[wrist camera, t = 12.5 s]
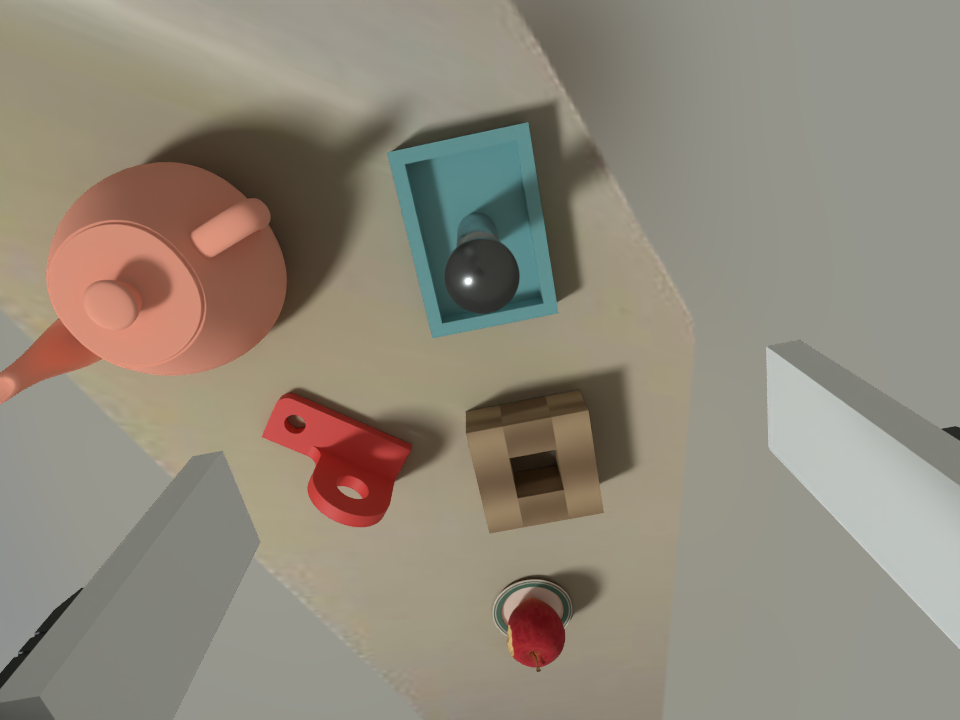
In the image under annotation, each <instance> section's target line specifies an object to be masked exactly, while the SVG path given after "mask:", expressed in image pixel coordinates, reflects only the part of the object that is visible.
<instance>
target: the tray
mask: <svg viewBox="0 0 960 720" xmlns="http://www.w3.org/2000/svg"><path fill="white" fill-rule="evenodd" d="M387 154H388V158H389V162H390V166H391V170H392V174H393V178H394V182H395V186H396V190H397V195H398V199H399V203H400V207H401V211H402V215H403V219H404V223H405V227H406V231H407V236H408V240H409V244H410V248H411V252H412V256H413V260H414V264H415V268H416V272H417V277H418V281H419V285H420V289H421V293H422V297H423V301H424V305H425V309H426V313H427V318H428V322H429V326H430V330H431V334H432V338H436V337H441V336H446V335H451V334H456V333H461V332H466V331H471V330H476V329H481V328H486V327H491V326H496V325H501V324H506V323H511V322H516V321H521V320H526V319H531V318H537V317H542V316H547V315H552V314H557V313H558V307H557V301H556V294H555V288H554V282H553V276H552V269H551V263H550V257H549V250H548V244H547V238H546V231H545V225H544V219H543V212H542V206H541V200H540V193H539V187H538V181H537V174H536V168H535V162H534V155H533V149H532V143H531V137H530V130H529V124H528V122H526V123H521V124H516V125H512V126H507V127H502V128H498V129H493V130H488V131H484V132H479V133H475V134H470V135H465V136H461V137H456V138H451V139H447V140H442V141H437V142H433V143H428V144H423V145H419V146H414V147H409V148H405V149H400V150H396V151H391V152H387ZM472 213H482V214H485V215H487V216H488V217H490V218H491V219H492V221H493V222H494V224H495V226H496V229H497V232H498V236H499V239H500V242H501V243H503V244H504V245H505V246H506V247H507V248H508V249H509V250H510V251H511V252H512V253H513V255H514V257H515V259H516V262H517V264H518V268H519V273H520V280H519V285H518V289H517V291H516V293H515V295H514V297H513V298H512V299H511V301H510V302H509V303H508V304H507V305H505V306H504V307H503V308H501V309H499V310H497V311H494V312H491V313H484V314H480V313H473V312H470V311H467V310H465V309H463V308H461V307H460V306H459V305H457V304H456V303H455V302H454V301H453V299H452V298H451V297H450V295H449V293H448V291H447V288H446V285H445V269H446V264H447V261H448V258H449V257H450V255H451V253H452V252H453V251H454V249H455V248H456V244H457V231H458V226H459V224H460V222H461V221H462V219H463V218H464V217H466V216H467V215H469V214H472Z"/></svg>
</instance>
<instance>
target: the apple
mask: <svg viewBox="0 0 960 720" xmlns="http://www.w3.org/2000/svg"><path fill="white" fill-rule="evenodd" d="M571 616H572V603H571V600H570V598H569V596H568V594H567V593H566V592H565V591H564V590H563V589H562V588H561V587H560V586H558V585H556V584H554V583H552V582H549V581H546V580H540V579H529V580H523V581H520V582H516V583H514V584H512V585H510V586H509V587H507V588H506V589H504V590H503V591H502V592H501V593H500V594H499V596H498V597H497V599H496V600H495V603H494V606H493V619H494V622H495V624H496V626H497V627H498V629H499V630H500V631H501V632H502V633H503V634H505V635H506V636H507V645H508V648H509V650H510V652H511V655H512V657H513V658H514V659H516V660H517V661H518V662H520V663H521V664H523V665H526V666H529V667H537V672H540V671H541V670H540V668H539V667H542V666H545V665H547V664H549V663H551V662H552V661H554V660H555V659H556V658H557V657H558V656H559V655H560V653H561V652H562V650H563V647H564V643H565V629H564V628H565V627H566V626H567V624H568V623H569V621H570V619H571Z"/></svg>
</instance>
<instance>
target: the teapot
mask: <svg viewBox="0 0 960 720" xmlns="http://www.w3.org/2000/svg"><path fill="white" fill-rule="evenodd" d="M270 219H271V215H270V211H269V209H268V208H267V206H266V205H265V204H264V203H263V202H262V201H261V200H259V199H256V198H249V199H247V198H246V197H245V196H244V195H243V194H242V193H241V192H240V191H239V190H238V189H236V188H235V187H234V186H232V185H231V184H230V183H229V182H227V181H226V180H224V179H222V178H221V177H219V176H217V175H216V174H214V173H212V172H209V171H207V170H205V169H202V168H200V167H196V166H192V165H189V164H184V163H176V162H156V163H149V164H143V165H138V166H134V167H131V168H127V169H124V170H122V171H120V172H117V173H115V174H113V175H111V176H109V177H107V178H105V179H103V180H102V181H100V182H99V183H97V184H96V185H94V186H93V187H91V188H90V189H89V190H87V191H86V192H85V193H84V194H83V195H82V196H81V197H80V198H78V199H77V200H76V202H75V203H74V204H73V205H72V207H71V208H70V209H69V210H68V212H67V213H66V214H65V215H64V217H63V219H62V221H61V222H60V224H59V226H58V228H57V231H56V233H55V236H54V238H53V241H52V243H51V247H50V251H49V256H48V262H47V272H46V279H47V288H48V292H49V297H50V300H51V303H52V305H53V308H54V310H55V311H56V313H57V315H58V317H59V319H57V320H56V321H55V322H54V323H53V324H52V325H51V326H50V327H49V328H48V329H47V330H46V331H45V332H44V333H43V334H42V335H41V336H40V337H39V338H38V339H37V340H36V341H35V342H34V343H33V345H32V346H31V347H30V348H29V349H28V350H27V351H26V352H25V353H24V354H23V355H22V356H21V357H20V358H18V359H17V360H16V361H15V362H14V363H12V364H11V365H10V366H9V367H8V368H6V369H5V370H3V371H2V372H0V404H1V403H3V402H5V401H7V400H9V399H10V398H12V397H13V396H15V395H16V394H18V393H19V392H21V391H22V390H24V389H26V388H27V387H30V386H31V385H33V384H36V383H38V382H40V381H42V380H45V379H48V378H50V377H54V376H57V375H60V374H64V373H67V372H70V371H74V370H77V369H80V368H83V367H86V366H88V365H91V364H93V363H95V362H97V361H99V360H101V359H104V360H106V361H108V362H110V363H112V364H114V365H117V366H120V367H123V368H126V369H130V370H134V371H138V372H142V373H146V374H155V375H165V376H170V375H186V374H193V373H199V372H203V371H207V370H210V369H213V368H217V367H219V366H222V365H224V364H227V363H229V362H231V361H233V360H235V359H237V358H238V357H240V356H242V355H244V354H245V353H246V352H248V351H249V350H250V349H252V348H253V347H254V346H255V345H257V344H258V343H259V342H260V341H261V340H262V339H263V338H264V337H265V336H266V335H267V334H268V332H269V331H270V330H271V328H272V327H273V326H274V324H275V322H276V320H277V319H278V317H279V315H280V312H281V310H282V307H283V304H284V301H285V296H286V289H287V274H286V266H285V262H284V258H283V253H282V251H281V248H280V246H279V243H278V241H277V239H276V237H275V235H274V233H273V231H272V229H271V228H270V226H269V225H268V224H269V223H270Z"/></svg>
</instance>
